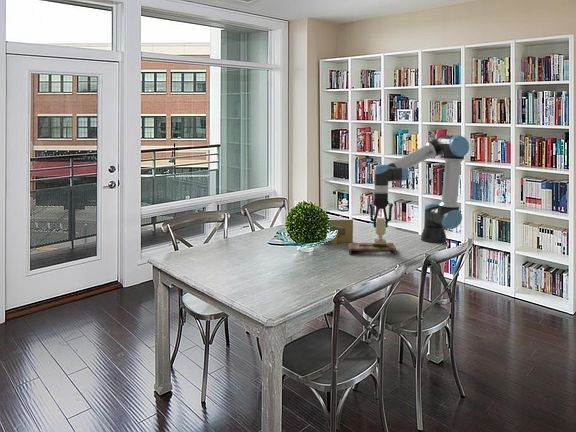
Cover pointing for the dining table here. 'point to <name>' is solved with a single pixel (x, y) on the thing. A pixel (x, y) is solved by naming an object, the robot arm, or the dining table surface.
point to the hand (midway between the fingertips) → (380, 233)
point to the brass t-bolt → (380, 231)
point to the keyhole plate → (371, 247)
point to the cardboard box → (342, 230)
